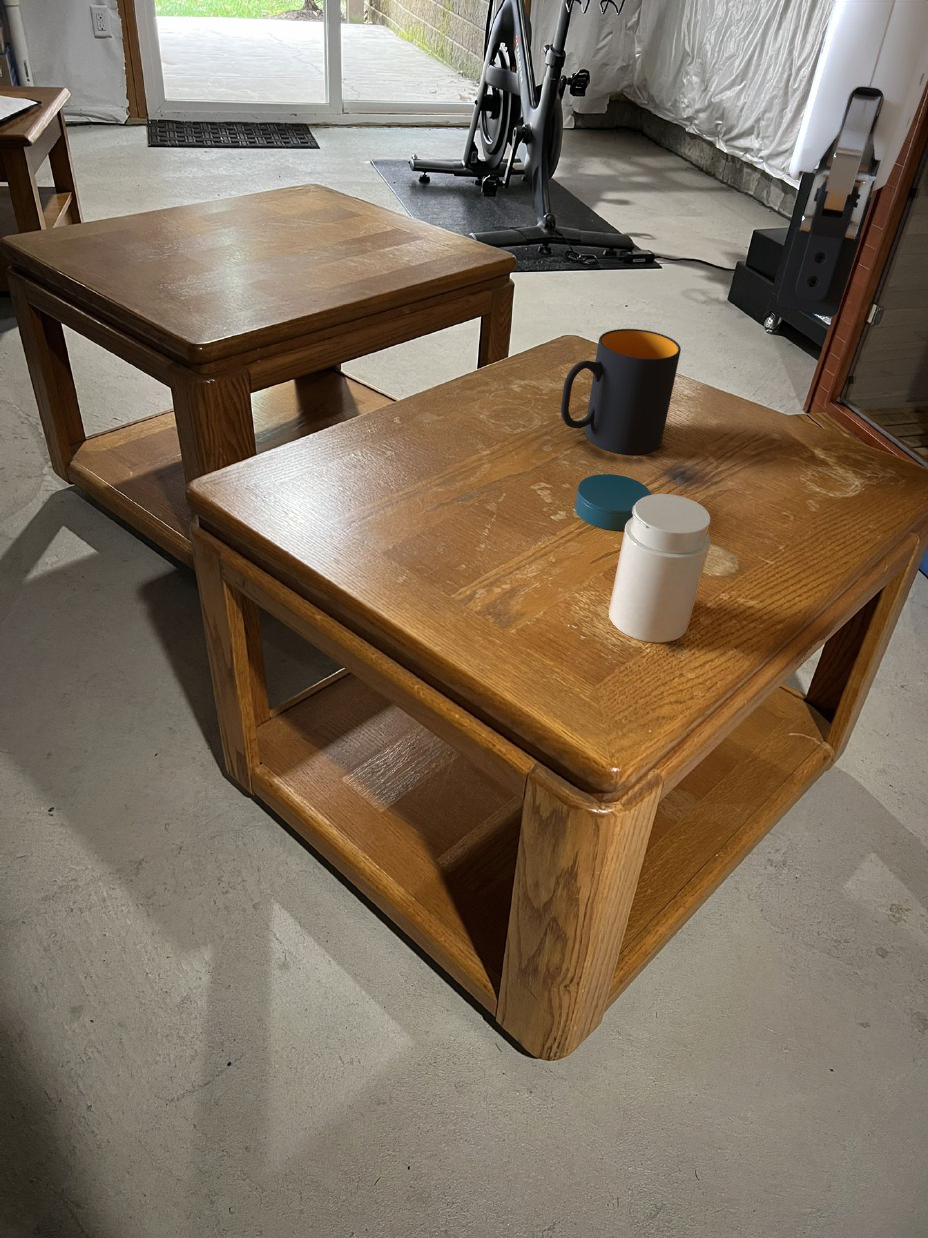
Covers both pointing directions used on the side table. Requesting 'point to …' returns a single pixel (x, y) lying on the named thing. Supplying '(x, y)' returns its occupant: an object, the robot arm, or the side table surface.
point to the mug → (627, 391)
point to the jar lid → (608, 500)
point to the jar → (660, 568)
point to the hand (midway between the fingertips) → (815, 285)
